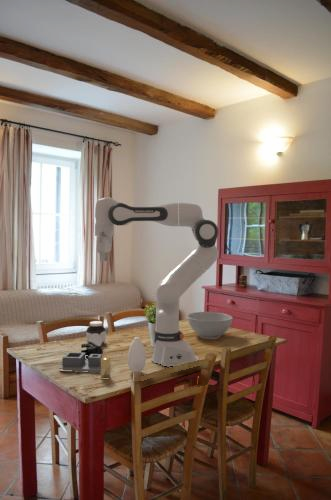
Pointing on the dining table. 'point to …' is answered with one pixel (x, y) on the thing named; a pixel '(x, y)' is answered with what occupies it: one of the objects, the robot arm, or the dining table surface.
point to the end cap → (91, 349)
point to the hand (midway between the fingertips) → (104, 261)
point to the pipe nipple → (105, 367)
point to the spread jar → (96, 333)
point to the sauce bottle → (136, 355)
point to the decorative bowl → (209, 324)
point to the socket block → (81, 362)
